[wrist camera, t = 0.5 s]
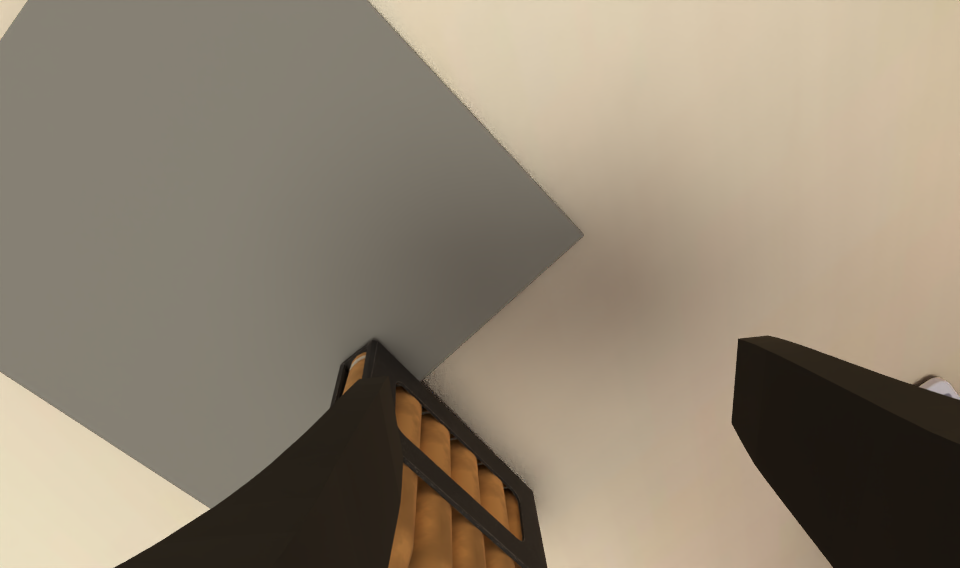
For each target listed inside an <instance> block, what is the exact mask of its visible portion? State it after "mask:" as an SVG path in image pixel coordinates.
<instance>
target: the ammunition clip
mask: <svg viewBox="0 0 960 568" xmlns="http://www.w3.org/2000/svg"><path fill="white" fill-rule="evenodd" d="M383 376H389V381H390V387H391V392H392V398H393V403H394V409H395V414H396V420H397V425H398V431H399V436H400V442H401V447H402V453H403V475H402V490H401V503H400V509H399V514H398V520H397V525H396V530H395V535H394V541H393V546H392V551H391V556H390V561H389V566H388V568H547V564H546V558H545V553H544V548H543V543H542V537H541V532H540V527H539V522H538V517H537V511H536V506H535V501H534V496H533V492H532V491H531V490H530V489H529V488H528V487H527V486H526V485H525V484H524V483H523V482H522V481H521V480H520V479H519V478H518V477H517V476H516V475H515V474H514V473H513V472H512V471H511V470H510V469H509V468H508V467H507V466H506V465H505V464H504V463H503V462H502V461H501V460H500V459H498V458H497V457H496V456H495V455H494V454H493V453H492V452H491V451H490V450H489V449H488V448H487V447H486V446H485V445H484V444H483V443H482V442H481V441H480V440H479V439H478V438H477V437H476V436H475V435H474V434H473V433H472V432H471V431H470V430H469V429H468V428H467V427H466V426H465V425H464V424H463V423H462V422H461V421H460V420H459V419H458V418H457V417H456V416H455V415H453V414H452V413H451V412H450V411H449V410H448V409H447V408H446V407H445V406H444V405H443V404H442V403H441V402H440V401H439V400H438V399H437V398H436V397H435V396H434V395H433V394H432V393H431V392H430V391H429V390H428V389H427V388H426V387H425V386H424V385H423V384H422V383H421V382H420V381H419V380H418V379H417V378H416V377H415V376H414V375H413V374H412V373H411V372H410V371H408V370H407V369H406V368H405V367H404V366H403V365H402V364H401V363H400V362H399V361H398V360H397V359H396V358H395V357H394V356H393V355H392V354H391V353H390V352H389V351H388V350H387V349H386V348H385V347H384V346H383V345H382V344H381V343H380V342H379V341H378V340H371V341H370V342H368V343H367V344H366V345H365V346H363V347H362V348H361V349H359V350H358V351H357V352H356V353H354V354H353V355H352V356H350V357H349V358H348V359H347V360H345V361H344V362H343V363H341V364H340V368H339V372H338V376H337V380H336V385H335V389H334V393H333V397H332V401H331V405H330V407H331V406H332V405H333V404H334V403H335V402H336V401H337V400H338V399H339V398H340V397H341V396H342V395H343V394H344V393H345V392H346V391H347V390H348V389H349V388H350V387H351V386H352V385H353V384H354V383H355V382H356V381H357V380H359V379H364V378H373V377H383Z"/></svg>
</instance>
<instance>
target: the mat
mask: <svg viewBox="0 0 960 568" xmlns="http://www.w3.org/2000/svg"><path fill="white" fill-rule="evenodd" d="M583 236H584V234H583V233H582V232H581V231H580V230H579V229H578V228H577V227H576V226H575V225H574V223H573V222H572V221H571V220H570V219H569V218H568V217H567V216H566V215H565V214H564V213H563V212H562V210H561V209H560V208H559V207H558V206H557V205H556V204H555V203H554V202H553V201H552V200H551V199H550V198H549V196H548V195H547V194H546V193H545V192H544V191H543V190H542V189H541V188H540V187H539V186H538V185H537V183H536V182H535V181H534V180H533V179H532V178H531V177H530V176H529V175H528V174H527V173H526V172H525V171H524V169H523V168H522V167H521V166H520V165H519V164H518V163H517V162H516V161H515V160H514V159H513V158H512V156H511V155H510V154H509V153H508V152H507V151H506V150H505V149H504V148H503V147H502V146H501V145H500V144H499V142H498V141H497V140H496V139H495V138H494V137H493V136H492V135H491V134H490V133H489V132H488V131H487V129H486V128H485V127H484V126H483V125H482V124H481V123H480V122H479V121H478V120H477V119H476V118H475V117H474V115H473V114H472V113H471V112H470V111H469V110H468V109H467V108H466V107H465V106H464V105H463V104H462V102H461V101H460V100H459V99H458V98H457V97H456V96H455V95H454V94H453V93H452V92H451V91H450V90H449V88H448V87H447V86H446V85H445V84H444V83H443V82H442V81H441V80H440V79H439V78H438V77H437V75H436V74H435V73H434V72H433V71H432V70H431V69H430V68H429V67H428V66H427V65H426V64H425V63H424V61H423V60H422V59H421V58H420V57H419V56H418V55H417V54H416V53H415V52H414V51H413V50H412V48H411V47H410V46H409V45H408V44H407V43H406V42H405V41H404V40H403V39H402V38H401V37H400V36H399V34H398V33H397V32H396V31H395V30H394V29H393V28H392V27H391V26H390V25H389V24H388V23H387V21H386V20H385V19H384V18H383V17H382V16H381V15H380V14H379V13H378V12H377V11H376V10H375V9H374V7H373V6H372V5H371V4H370V3H369V2H368V1H367V0H28V1H27V2H26V4H25V5H24V7H23V8H22V10H21V11H20V13H19V14H18V15H17V17H16V18H15V20H14V21H13V23H12V24H11V26H10V27H9V28H8V30H7V31H6V33H5V34H4V36H3V37H2V38H1V40H0V372H1V373H3V374H4V375H6V376H7V377H9V378H11V379H12V380H14V381H15V382H17V383H18V384H20V385H21V386H23V387H24V388H26V389H27V390H29V391H31V392H32V393H34V394H35V395H37V396H38V397H40V398H41V399H43V400H44V401H46V402H47V403H49V404H50V405H52V406H54V407H55V408H57V409H58V410H60V411H61V412H63V413H64V414H66V415H67V416H69V417H70V418H72V419H74V420H75V421H77V422H78V423H80V424H81V425H83V426H84V427H86V428H87V429H89V430H90V431H92V432H93V433H95V434H97V435H98V436H100V437H101V438H103V439H104V440H106V441H107V442H109V443H110V444H112V445H113V446H115V447H117V448H118V449H120V450H121V451H123V452H124V453H126V454H127V455H129V456H130V457H132V458H133V459H135V460H136V461H138V462H140V463H141V464H143V465H144V466H146V467H147V468H149V469H150V470H152V471H153V472H155V473H156V474H158V475H160V476H161V477H163V478H164V479H166V480H167V481H169V482H170V483H172V484H173V485H175V486H176V487H178V488H179V489H181V490H183V491H184V492H186V493H187V494H189V495H190V496H192V497H193V498H195V499H196V500H198V501H199V502H201V503H203V504H204V505H206V506H207V507H209V508H210V509H211V508H213V507H214V506H216V505H217V504H219V503H220V502H222V501H223V500H224V499H226V498H227V497H228V496H230V495H231V494H232V493H234V492H235V491H236V490H238V489H239V488H240V487H242V486H243V485H245V484H246V483H247V482H249V481H250V480H251V479H252V478H254V477H255V476H256V475H257V474H259V473H260V472H261V471H262V470H264V469H265V468H266V467H267V466H268V465H270V464H271V463H272V462H273V461H274V460H275V459H276V458H277V457H278V456H280V455H281V454H282V453H283V452H284V451H285V450H286V449H287V448H289V447H290V446H291V445H292V444H293V443H294V442H295V441H296V440H297V439H299V438H300V437H301V436H302V435H303V434H304V433H305V432H306V431H307V430H308V429H309V428H310V427H311V426H312V425H313V424H314V423H315V422H316V421H317V420H318V419H319V418H320V417H321V416H322V415H323V414H324V413H325V412H326V411H327V410H328V409H329V408H330V405H331V401H332V397H333V393H334V389H335V385H336V380H337V376H338V372H339V368H340V364H341V363H343V362H344V361H345V360H347V359H348V358H349V357H350V356H352V355H353V354H354V353H356V352H357V351H358V350H359V349H361V348H362V347H363V346H365V345H366V344H367V343H368V342H370V341H371V340H378V341H379V342H380V343H381V344H382V345H383V346H384V347H385V348H386V349H387V350H388V351H389V352H390V353H391V354H392V355H393V356H394V357H395V358H396V359H397V360H398V361H399V362H400V363H401V364H402V365H403V366H404V367H405V368H406V369H407V370H408V371H410V372H411V373H412V374H413V375H414V376H415V377H416V378H417V379H418V380H419V381H420V382H421V381H422V380H423V379H424V378H425V377H426V376H427V375H429V374H430V373H431V372H432V371H433V370H434V369H435V368H436V367H437V366H439V365H440V364H441V363H442V362H443V361H444V360H445V359H446V358H448V357H449V356H450V355H451V354H452V353H453V352H454V351H455V350H457V349H458V348H459V347H460V346H461V345H462V344H463V343H464V342H465V341H467V340H468V339H469V338H470V337H471V336H472V335H473V334H474V333H476V332H477V331H478V330H479V329H480V328H481V327H482V326H483V325H485V324H486V323H487V322H488V321H489V320H490V319H491V318H492V317H493V316H495V315H496V314H497V313H498V312H499V311H500V310H501V309H502V308H504V307H505V306H506V305H507V304H508V303H509V302H510V301H511V300H513V299H514V298H515V297H516V296H517V295H518V294H519V293H520V292H521V291H523V290H524V289H525V288H526V287H527V286H528V285H529V284H530V283H532V282H533V281H534V280H535V279H536V278H537V277H538V276H539V275H541V274H542V273H543V272H544V271H545V270H546V269H547V268H548V267H549V266H551V265H552V264H553V263H554V262H555V261H556V260H557V259H558V258H560V257H561V256H562V255H563V254H564V253H565V252H566V251H567V250H569V249H570V248H571V247H572V246H573V245H574V244H575V243H576V242H577V241H579V240H580V239H581V238H582V237H583Z"/></svg>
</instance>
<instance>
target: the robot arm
mask: <svg viewBox="0 0 960 568" xmlns="http://www.w3.org/2000/svg"><path fill="white" fill-rule="evenodd" d="M732 425H733V427H734V429H735V431H736V432H737V434H738V436H739V438H740V440H741V442H742V444H743V445H744V447H745V449H746V451H747V452H748V454H749V456H750V457H751V459H752V461H753V462H754V464H755V466H756V467H757V468H758V470H759V471H760V472H761V474H762V475H763V477H764V478H765V479H766V481H767V482H768V483H769V484H770V486H771V487H772V488H773V490H774V491H775V492H776V494H777V495H778V496H779V498H780V499H781V500H782V502H783V503H784V504H785V506H786V507H787V508H788V509H789V511H790V512H791V513H792V515H793V516H794V517H795V518H796V520H797V521H798V522H799V524H800V525H801V526H802V528H803V529H804V530H805V531H806V533H807V534H808V535H809V537H810V538H811V539H812V541H813V542H814V543H815V544H816V546H817V547H818V548H819V550H820V551H821V552H822V554H823V555H824V556H825V557H826V559H827V560H828V561H829V563H830V564H831V565H832V567H833V568H960V397H959V395H958V394H957V393H956V391H955V390H954V389H953V387H952V386H951V384H950V383H948V382H947V381H945V380H944V379H942V378H939V377H935V378H931V379H929V380H928V381H926V382H925V383H923V384H922V385H920V386H919V387H918V386H915V385H911V384H908V383H905V382H902V381H900V380H897V379H894V378H891V377H888V376H885V375H882V374H879V373H877V372H874V371H871V370H868V369H865V368H863V367H860V366H857V365H854V364H852V363H849V362H846V361H843V360H841V359H838V358H835V357H832V356H830V355H827V354H824V353H821V352H819V351H816V350H813V349H810V348H808V347H805V346H802V345H799V344H796V343H793V342H790V341H787V340H783V339H780V338H776V337H772V336H760V337H751V338H741V339H738V349H737V361H736V374H735V386H734V398H733V411H732ZM402 475H403V453H402V447H401V442H400V436H399V431H398V425H397V420H396V414H395V409H394V403H393V398H392V392H391V387H390V381H389V376H383V377H373V378H364V379H359V380H357V381H356V382H355V383H354V384H353V385H352V386H351V387H350V388H349V389H348V390H347V391H346V392H345V393H344V394H343V395H342V396H341V397H340V398H339V399H338V400H337V401H336V402H335V403H334V404H333V405H332V406H331V407H330V408H329V409H328V410H327V411H326V412H325V413H324V414H323V415H322V416H321V417H320V418H319V419H318V420H317V421H316V422H315V423H314V424H313V425H312V426H311V427H310V428H309V429H308V430H307V431H306V432H305V433H304V434H303V435H302V436H301V437H300V438H299V439H297V440H296V441H295V442H294V443H293V444H292V445H291V446H290V447H289V448H287V449H286V450H285V451H284V452H283V453H282V454H281V455H280V456H278V457H277V458H276V459H275V460H274V461H273V462H272V463H271V464H270V465H268V466H267V467H266V468H265V469H264V470H262V471H261V472H260V473H259V474H257V475H256V476H255V477H254V478H252V479H251V480H250V481H249V482H247V483H246V484H245V485H243V486H242V487H240V488H239V489H238V490H236V491H235V492H234V493H232V494H231V495H230V496H228V497H227V498H226V499H224V500H223V501H222V502H220V503H219V504H217V505H216V506H214V507H213V508H211V509H210V510H208V511H207V512H205V513H204V514H202V515H201V516H199V517H197V518H196V519H194V520H193V521H191V522H190V523H188V524H187V525H185V526H184V527H182V528H180V529H179V530H177V531H176V532H174V533H173V534H171V535H170V536H168V537H166V538H165V539H163V540H162V541H160V542H158V543H157V544H155V545H153V546H152V547H150V548H148V549H146V550H145V551H143V552H141V553H139V554H138V555H136V556H134V557H132V558H131V559H129V560H127V561H126V562H124V563H122V564H120V565H118V566H116V567H114V568H388V566H389V561H390V556H391V551H392V546H393V541H394V535H395V530H396V525H397V520H398V514H399V509H400V503H401V490H402Z"/></svg>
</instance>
